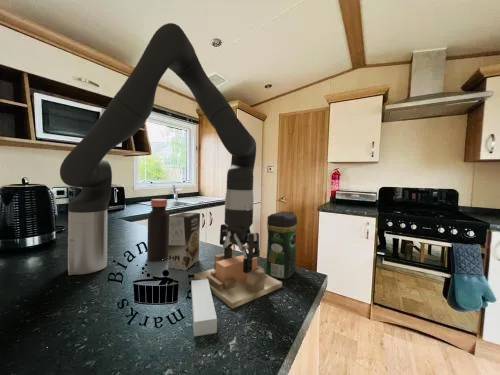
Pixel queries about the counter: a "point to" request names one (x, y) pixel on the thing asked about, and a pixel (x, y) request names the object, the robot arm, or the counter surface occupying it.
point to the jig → (239, 285)
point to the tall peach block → (232, 269)
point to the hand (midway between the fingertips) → (237, 266)
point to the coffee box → (183, 240)
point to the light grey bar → (203, 308)
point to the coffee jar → (281, 245)
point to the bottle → (158, 231)
